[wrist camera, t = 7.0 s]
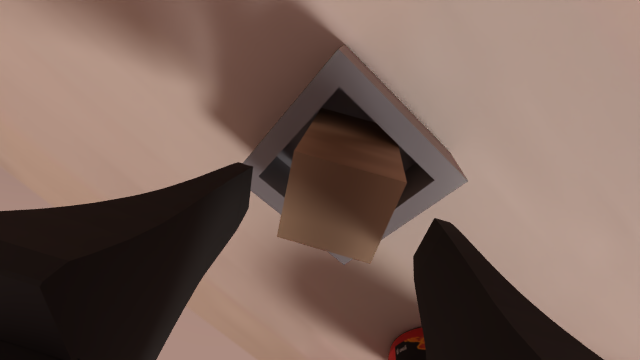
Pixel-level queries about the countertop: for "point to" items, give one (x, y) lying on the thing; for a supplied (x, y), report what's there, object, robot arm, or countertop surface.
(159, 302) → the robot arm
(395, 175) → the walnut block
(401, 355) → the canned food
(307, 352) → the countertop surface
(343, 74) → the well
